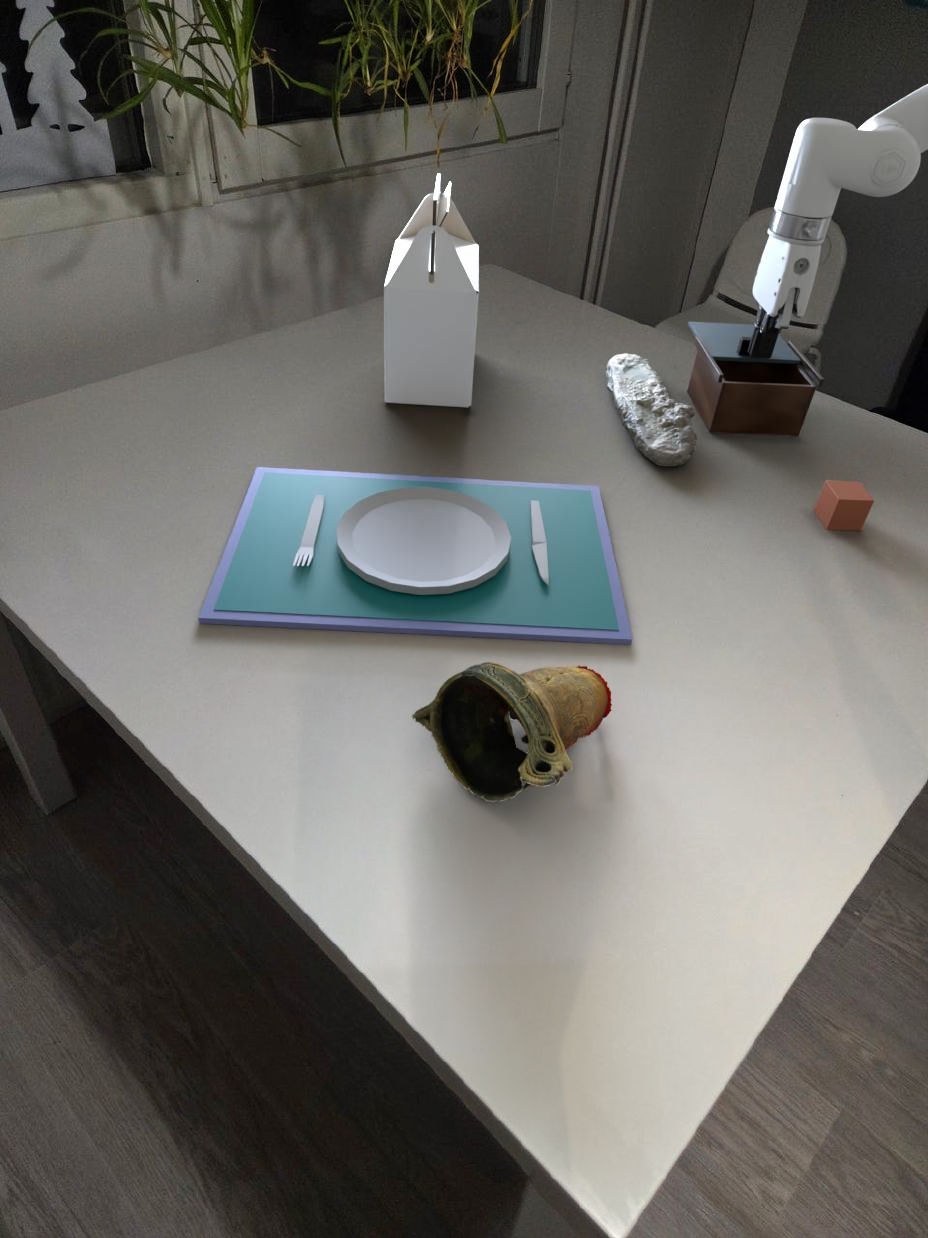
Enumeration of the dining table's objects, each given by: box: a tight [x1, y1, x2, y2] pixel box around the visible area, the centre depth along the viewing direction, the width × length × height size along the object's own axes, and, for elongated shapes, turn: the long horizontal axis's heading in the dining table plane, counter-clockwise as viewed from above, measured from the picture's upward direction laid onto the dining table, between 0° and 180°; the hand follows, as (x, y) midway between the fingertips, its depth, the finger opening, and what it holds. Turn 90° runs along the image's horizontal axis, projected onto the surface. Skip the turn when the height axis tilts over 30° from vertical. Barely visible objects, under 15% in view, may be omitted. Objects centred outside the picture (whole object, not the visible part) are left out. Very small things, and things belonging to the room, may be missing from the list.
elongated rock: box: [605, 352, 698, 467], centre depth 126 cm, size 35×5×10 cm
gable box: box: [383, 173, 480, 409], centre depth 125 cm, size 22×13×28 cm, turn 179°
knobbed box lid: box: [687, 321, 801, 365], centre depth 129 cm, size 14×14×3 cm
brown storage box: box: [686, 337, 825, 437], centre depth 127 cm, size 16×14×9 cm
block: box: [813, 479, 875, 532], centre depth 106 cm, size 5×5×5 cm
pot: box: [411, 661, 613, 803], centre depth 72 cm, size 17×11×18 cm
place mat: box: [198, 466, 634, 646], centre depth 96 cm, size 45×30×2 cm
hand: (758, 355), depth 123 cm, fingers closed
